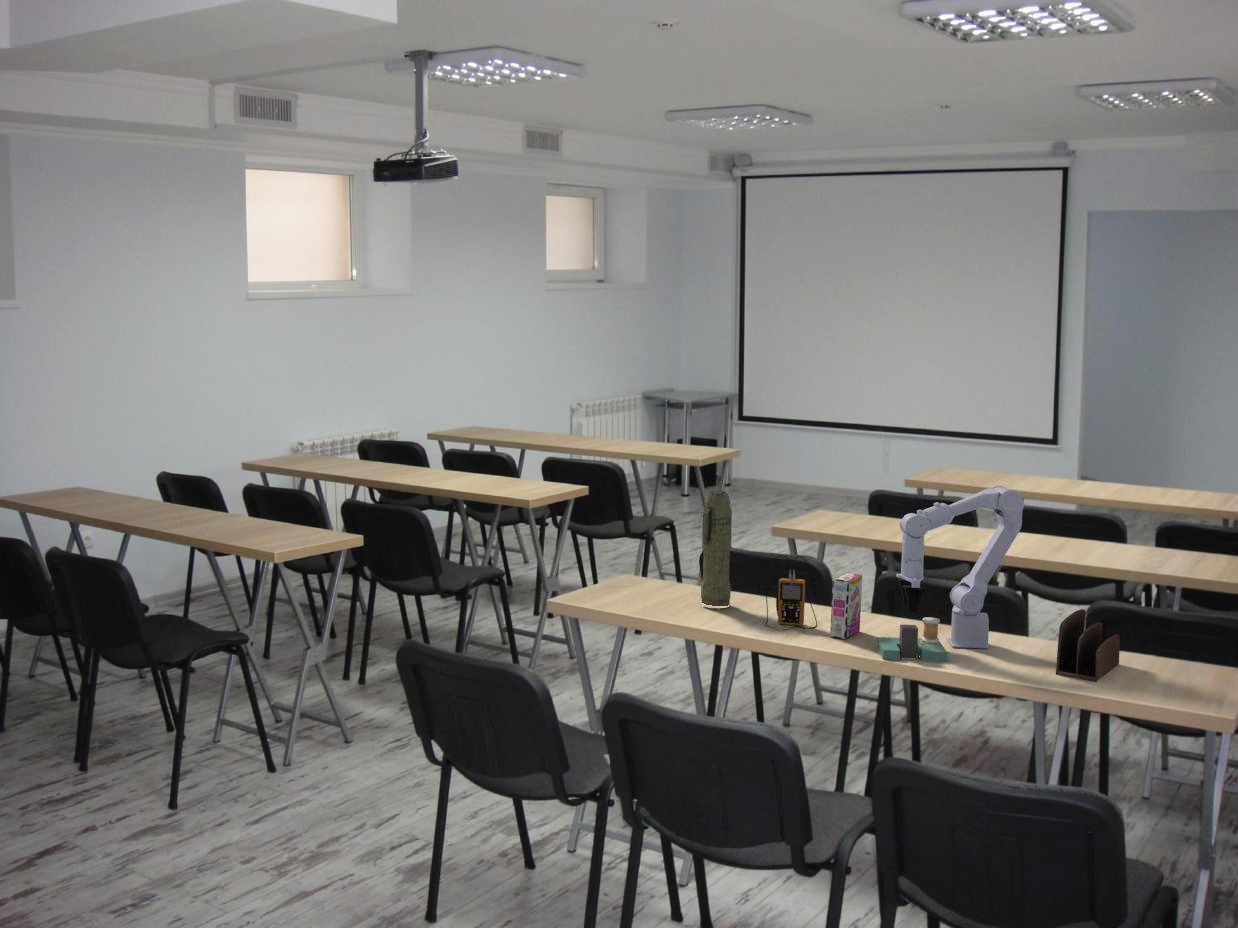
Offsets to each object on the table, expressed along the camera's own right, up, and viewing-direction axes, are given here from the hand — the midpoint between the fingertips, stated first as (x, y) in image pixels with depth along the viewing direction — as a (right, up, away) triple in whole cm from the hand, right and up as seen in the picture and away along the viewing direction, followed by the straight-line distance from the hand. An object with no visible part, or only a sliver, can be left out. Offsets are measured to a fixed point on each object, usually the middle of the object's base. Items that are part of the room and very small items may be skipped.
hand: (910, 608), depth 325 cm
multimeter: (-30, -8, +19) cm, 36 cm away
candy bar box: (-15, -9, +11) cm, 21 cm away
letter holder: (+40, -13, -20) cm, 46 cm away
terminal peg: (-3, -11, -10) cm, 16 cm away
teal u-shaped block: (-2, -11, -8) cm, 13 cm away
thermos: (-49, -5, +44) cm, 66 cm away
